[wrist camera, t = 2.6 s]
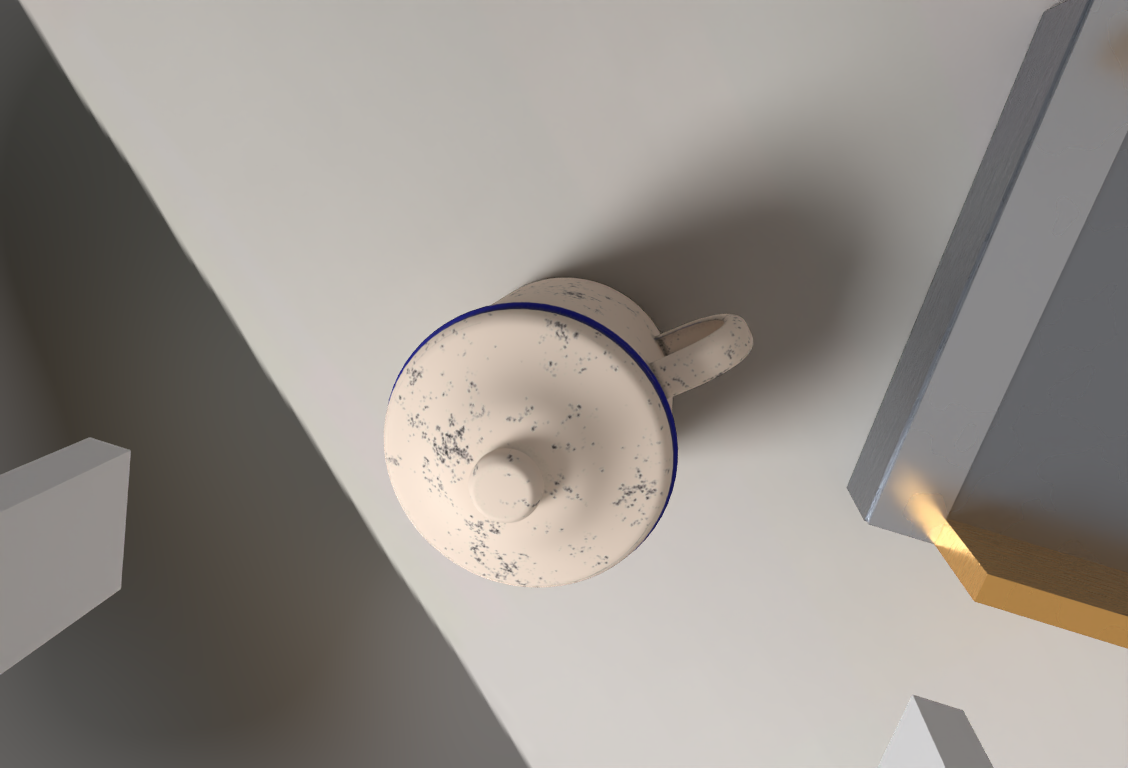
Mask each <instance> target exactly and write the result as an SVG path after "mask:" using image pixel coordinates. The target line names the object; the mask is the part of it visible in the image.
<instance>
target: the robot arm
mask: <svg viewBox="0 0 1128 768" xmlns="http://www.w3.org/2000/svg"><path fill="white" fill-rule="evenodd" d="M130 454H131V450H128V449H125V448H122V447H119V446H116V445H112V444H109V443H106V442H103V441H99V440H96V439H93V438H90V437H89V438H87V439H85V440H83V441H80V442H78V443H75V444H73V445H70V446H68V447H65V448H63V449H61V450H58V451H56V452H54V453H51V454H49V455H47V456H44V457H42V458H40V459H37V460H35V461H32V462H30V463H28V464H25V465H23V466H20V467H18V468H16V469H13V470H11V471H8V472H7V473H4V474H1V475H0V674H2V673H3V672H5V671H6V670H7V669H9V668H10V667H12V666H13V665H15V664H16V663H17V662H19V661H20V660H22V659H23V658H24V657H26V656H27V655H28V654H30V653H31V652H33V651H34V650H35V649H37V648H38V647H40V646H41V645H43V644H44V643H45V642H47V641H48V640H50V639H51V638H52V637H54V636H55V635H57V634H58V633H59V632H61V631H62V630H64V629H65V628H66V627H68V626H69V625H71V624H72V623H74V622H75V621H76V620H78V619H79V618H80V617H82V616H83V615H85V614H86V613H87V612H89V611H90V610H92V609H93V608H95V607H96V606H97V605H99V604H100V603H101V602H103V601H104V600H106V599H107V598H108V597H110V596H111V595H113V594H114V593H115V592H117V591H118V590H120V589H121V578H122V565H123V550H124V536H125V523H126V509H127V495H128V480H129V468H130ZM878 768H993V766H992V764H991V762H990V760H989V758H988V756H987V754H986V753H985V751H984V749H983V747H982V745H981V743H980V741H979V739H978V738H977V736H976V734H975V732H974V730H973V728H972V726H971V724H970V723H969V721H968V719H967V717H966V715H965V713H964V711H963V710H960V709H957V708H954V707H950V706H947V705H944V704H941V703H938V702H934V701H931V700H928V699H925V698H922V697H918V696H915V695H912V697H911V699H910V701H909V703H908V705H907V707H906V709H905V711H904V714H903V716H902V718H901V720H900V722H899V724H898V726H897V728H896V730H895V732H894V734H893V737H892V739H891V741H890V743H889V745H888V747H887V749H886V751H885V753H884V755H883V757H882V760H881V762H880V764H879V766H878Z"/></svg>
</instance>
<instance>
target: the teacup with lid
mask: <svg viewBox="0 0 1128 768" xmlns="http://www.w3.org/2000/svg"><path fill="white" fill-rule="evenodd" d="M752 347H753V337H752V334H751V332H750V329H749V327H748V325H747V323H746V322H745V320H744V319H743V318H742V317H740V316H738V315H735V314H717V315H712V316H708V317H704V318H700V319H697V320H694V321H691V322H689V323H686V324H683V325H681V326H678V327H676V328H674V329H671V330H669V331H667V332H664V333H662V334H660V332H659V330H658V329H657V327H656V326H655V324H654V323H653V321H652V320H651V319H650V318H649V316H648V315H647V314H646V313H645V312H644V311H643V310H642V309H641V308H640V307H639V306H638V305H637V304H636V303H634V302H633V301H632V300H631V299H629V298H628V297H626V296H625V295H623V294H622V293H620V292H618V291H617V290H615V289H613V288H611V287H608V286H606V285H603V284H601V283H597V282H594V281H591V280H585V279H580V278H551V279H545V280H541V281H537V282H534V283H530V284H528V285H525V286H523V287H521V288H519V289H517V290H515V291H513V292H512V293H510V294H508V295H507V296H505V297H503V298H502V299H500V300H499V301H497V302H495V303H494V304H492V305H490V306H485V307H482V308H479V309H476V310H472V311H470V312H467V313H465V314H463V315H460V316H458V317H456V318H454V319H453V320H451V321H449V322H447V323H446V324H444V325H443V326H441V327H440V328H438V329H437V330H436V331H434V332H433V333H432V334H431V335H430V336H428V337H427V338H426V339H425V340H424V341H423V342H422V343H421V344H420V345H419V346H418V347H417V348H416V350H415V351H414V352H413V353H412V355H411V356H410V357H409V359H408V360H407V361H406V363H405V364H404V366H403V368H402V370H401V371H400V373H399V375H398V377H397V379H396V382H395V384H394V386H393V389H392V392H391V395H390V398H389V402H388V407H387V412H386V417H385V426H384V451H385V459H386V464H387V470H388V473H389V477H390V480H391V483H392V486H393V489H394V491H395V494H396V496H397V498H398V500H399V502H400V504H401V506H402V508H403V510H404V511H405V513H406V515H407V516H408V518H409V519H410V521H411V522H412V523H413V525H414V526H415V527H416V529H417V530H418V531H419V532H420V534H421V535H422V536H423V537H424V538H425V539H426V540H427V541H428V542H429V543H430V544H431V545H432V546H433V547H434V548H435V549H436V550H438V551H439V552H440V553H441V554H443V555H444V556H445V557H446V558H448V559H449V560H451V561H452V562H454V563H455V564H457V565H458V566H460V567H462V568H464V569H466V570H468V571H470V572H472V573H474V574H476V575H479V576H481V577H483V578H486V579H489V580H492V581H495V582H499V583H504V584H508V585H514V586H520V587H535V588H536V587H554V586H563V585H567V584H572V583H576V582H580V581H583V580H586V579H589V578H591V577H594V576H596V575H598V574H601V573H603V572H604V571H606V570H608V569H610V568H612V567H613V566H615V565H616V564H618V563H619V562H621V561H622V560H623V559H625V558H626V557H627V556H628V555H630V554H631V553H632V552H633V551H634V550H635V549H637V548H638V547H639V546H640V545H641V544H642V542H643V541H644V540H645V539H646V538H647V537H648V536H649V534H650V533H651V532H652V531H653V529H654V528H655V527H656V525H657V523H658V522H659V520H660V518H661V517H662V515H663V513H664V511H665V509H666V507H667V504H668V502H669V499H670V496H671V493H672V491H673V487H674V482H675V478H676V471H677V463H678V444H677V433H676V428H675V423H674V418H673V415H672V403H673V396H676V395H678V394H681V393H683V392H685V391H688V390H690V389H693V388H695V387H697V386H699V385H702V384H704V383H706V382H708V381H710V380H712V379H714V378H716V377H718V376H720V375H722V374H723V373H725V372H727V371H728V370H730V369H731V368H733V367H734V366H736V365H737V364H739V363H740V362H741V361H742V360H743V359H745V357H746V356H747V355H748V354H749V353H750V351H751V349H752Z"/></svg>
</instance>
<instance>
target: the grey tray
mask: <svg viewBox="0 0 1128 768" xmlns="http://www.w3.org/2000/svg"><path fill="white" fill-rule="evenodd" d="M847 489H848V491H849V493H850V495H851V497H852V499H853V500H854V502H855V504H856V506H857V508H858V510H859V512H860V513H861V515H862V517H863V519H864V521H867V522H868V524H869V525H872V526H876V527H879V528H882V529H886V530H889V531H892V532H896V533H899V534H902V535H906V536H909V537H912V538H915V539H919V540H922V541H925V542H929V543H932V544H935V546H936V547H937V549H938V550H939V551H940V553H941V554H942V556H943V557H944V559H945V560H946V562H947V563H948V564H949V566H950V567H951V569H952V570H953V572H954V573H955V574H956V576H957V577H958V579H959V580H960V582H961V583H962V584H963V586H964V587H965V589H966V590H967V592H968V593H969V594H970V596H971V597H972V599H973V600H974V601H975V602H978V603H982V604H985V605H988V606H991V607H995V608H998V609H1001V610H1004V611H1008V612H1011V613H1014V614H1017V615H1021V616H1024V617H1027V618H1030V619H1034V620H1037V621H1040V622H1043V623H1047V624H1050V625H1053V626H1056V627H1060V628H1063V629H1066V630H1069V631H1073V632H1076V633H1079V634H1082V635H1086V636H1089V637H1092V638H1095V639H1099V640H1102V641H1105V642H1108V643H1112V644H1115V645H1118V646H1121V647H1125V648H1128V0H1068V1H1066V2H1064V3H1062V4H1059V5H1057V6H1055V7H1053V8H1051V9H1049V10H1047V11H1045V12H1044V13H1043V15H1042V18H1041V20H1040V22H1039V25H1038V27H1037V30H1036V32H1035V34H1034V37H1033V39H1032V42H1031V44H1030V46H1029V49H1028V51H1027V54H1026V56H1025V59H1024V61H1023V63H1022V66H1021V68H1020V71H1019V73H1018V75H1017V78H1016V80H1015V83H1014V85H1013V88H1012V90H1011V92H1010V95H1009V97H1008V100H1007V102H1006V104H1005V107H1004V109H1003V112H1002V114H1001V117H1000V119H999V121H998V124H997V126H996V129H995V131H994V133H993V136H992V138H991V141H990V143H989V146H988V148H987V150H986V153H985V155H984V158H983V160H982V162H981V165H980V167H979V170H978V172H977V175H976V177H975V179H974V182H973V184H972V187H971V189H970V191H969V194H968V196H967V199H966V201H965V203H964V206H963V208H962V211H961V213H960V216H959V218H958V220H957V223H956V225H955V228H954V230H953V232H952V235H951V237H950V240H949V242H948V245H947V247H946V249H945V252H944V254H943V257H942V259H941V261H940V264H939V266H938V269H937V271H936V274H935V276H934V278H933V281H932V283H931V286H930V288H929V290H928V293H927V295H926V298H925V300H924V303H923V305H922V307H921V310H920V312H919V315H918V317H917V319H916V322H915V324H914V327H913V329H912V331H911V334H910V336H909V339H908V341H907V344H906V346H905V348H904V351H903V353H902V356H901V358H900V360H899V363H898V365H897V368H896V370H895V373H894V375H893V377H892V380H891V382H890V385H889V387H888V389H887V392H886V394H885V397H884V399H883V402H882V404H881V406H880V409H879V411H878V414H877V416H876V418H875V421H874V423H873V426H872V428H871V431H870V433H869V435H868V438H867V440H866V443H865V445H864V447H863V450H862V452H861V455H860V457H859V459H858V462H857V464H856V467H855V469H854V472H853V474H852V476H851V479H850V481H849V484H848V486H847Z"/></svg>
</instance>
